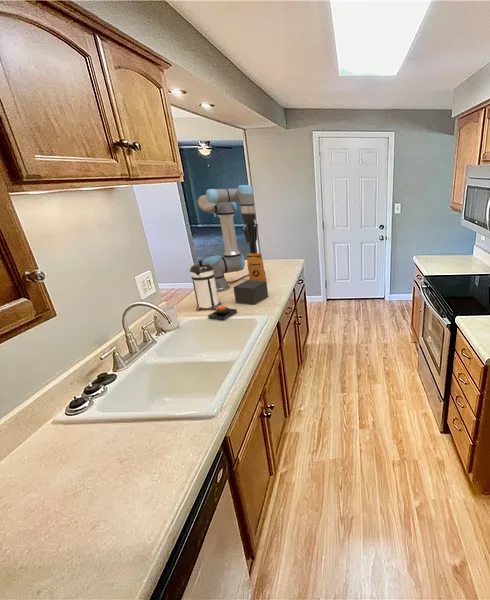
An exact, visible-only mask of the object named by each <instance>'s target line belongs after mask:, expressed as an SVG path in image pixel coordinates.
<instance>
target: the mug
mask: <svg viewBox="0 0 490 600" xmlns="http://www.w3.org/2000/svg"><path fill="white" fill-rule="evenodd" d="M159 308H161V309H162V310H164V311H165V313H166V314H167V315H168V316H169V317H170V319H171V321H172V324H169V323H168V322H167V320H166V319H165V318H164V317H162V316H161V315H160V314H159V313H157V312H156V311H155V313H156V317H158V318H159V320H160V323H161V327H162V329H163V330H162V329H161V330H162V331H164V332H169V331H173V330H176V329H177V328H179V325H180V322H179V318H178V313H177V306H176V305H164V306H160V307H159ZM158 318H157V319H158Z"/></svg>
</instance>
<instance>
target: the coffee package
mask: <svg viewBox="0 0 490 600" xmlns="http://www.w3.org/2000/svg"><path fill="white" fill-rule="evenodd" d="M246 261H247V271H248V275H249V279H248V280H255V281H266V280H267V277H266V276H267V275H266V272H265V267H264V261H263V256H262V253H260V252H256V253H246Z"/></svg>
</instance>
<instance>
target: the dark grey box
mask: <svg viewBox="0 0 490 600" xmlns="http://www.w3.org/2000/svg"><path fill="white" fill-rule="evenodd" d="M266 282H267V281H266V280H265V281H255V280H249V279H247V280H245V281H243V282H240V283H239V284H236V285H235V286H233V293H234V299H235V303H236V304H243V305H251V306H253V305H254V306H255V305H257V304H259V303H261V302H262V301H263V300H265V299H267V298H268V297H269V291H268V292H267V290H268V283H266Z"/></svg>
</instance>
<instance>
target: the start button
mask: <svg viewBox="0 0 490 600" xmlns="http://www.w3.org/2000/svg"><path fill="white" fill-rule="evenodd" d="M226 307H227V306H226V305H219V306H218V307H217V309H218V311H223V310H226Z"/></svg>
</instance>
